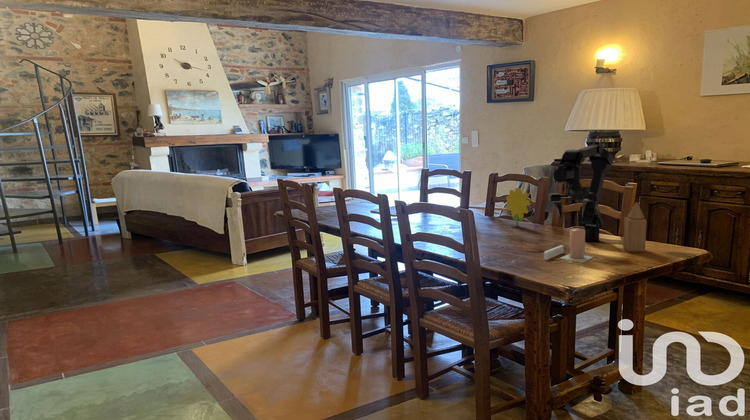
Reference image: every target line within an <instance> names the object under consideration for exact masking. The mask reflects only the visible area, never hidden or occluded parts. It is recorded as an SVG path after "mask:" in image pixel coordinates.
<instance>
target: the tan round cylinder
mask: <svg viewBox="0 0 750 420" xmlns="http://www.w3.org/2000/svg"><path fill="white" fill-rule="evenodd" d="M568 246H569V248H568V254H569V258H572V259H584V255H585V247H586V242H585V229H583V228H579V227H578V228H577V227H575V228H570V229H569V245H568Z"/></svg>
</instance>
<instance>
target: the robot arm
mask: <svg viewBox="0 0 750 420" xmlns="http://www.w3.org/2000/svg"><path fill="white" fill-rule="evenodd" d="M586 159H588V160H589V162H590V167H591V170H592V172H593V173H592V178H591V181H590V184H589V187H582V183H581V169H583V167H584V166H583V165H582V164H583V162H585V161H586ZM612 165H614V157H613V156H612V154H611V152H610V151H609V150H607V149H605V148H604V146H603V145H601V144H590V145H589V146H585V147H583V148H579V149H566V150H565V151H564V152H563V154H562V157H561V158H560V160H559V164H558V167H557V168H556V170H554V173H553V178H554V181H556V182H557V183H564V185H565V187H564V194H561V193H558V192H549V193H548V194H547V200H548V201H549V202H551V203H553V204H554V207H555V208H556V211H557V214H558V216H559V218H561V219H562V201H561V200H571V201H582V205H581V206H580V207H579V208H580V209H579V213H578V215H577V219H578V224H579V227H582V229H585V243H586V242H587V243H588V242H589V243H591V242H594V243H595V242H599V243H600V242H601V240H600V229H603V226H604V221H603V219H602V217H601V211H600V208H599V202H600V199H601V195H602V189H603V184H604V180H605V176H606V174H607V173H609V171H610V170H611V169H612Z"/></svg>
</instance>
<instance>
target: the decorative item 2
mask: <svg viewBox="0 0 750 420" xmlns="http://www.w3.org/2000/svg"><path fill="white" fill-rule="evenodd" d="M638 203H639V202H637V201H636V202H635V203H634V205H633V206H632V208H631V210H630V211H629V213H628V214H627V216H625V217H624V218H623V219H624V220H623V221H624V222H623V224H624V225H623V238H622V239H623V240H622V241H623V243H622V247H623V249H624V250H625V251H627V252H629V253H632V252H633V253H636V252H637V253H644V252H645V251H646V237H647V235H646V234H647V219H645V216H644V214H643V212H642V209H641V207H640V206H639V204H638Z"/></svg>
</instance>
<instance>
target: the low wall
mask: <svg viewBox="0 0 750 420" xmlns="http://www.w3.org/2000/svg"><path fill="white" fill-rule="evenodd" d="M564 248H565V247H564V244H563V245H562V244H560V245H557V246H555V247H553V248H551V249H548V250H546V251H544V252H543V260H545V261H549V260H550V259H552V258H555V257H557V256H559V255H561V254H564Z"/></svg>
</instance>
